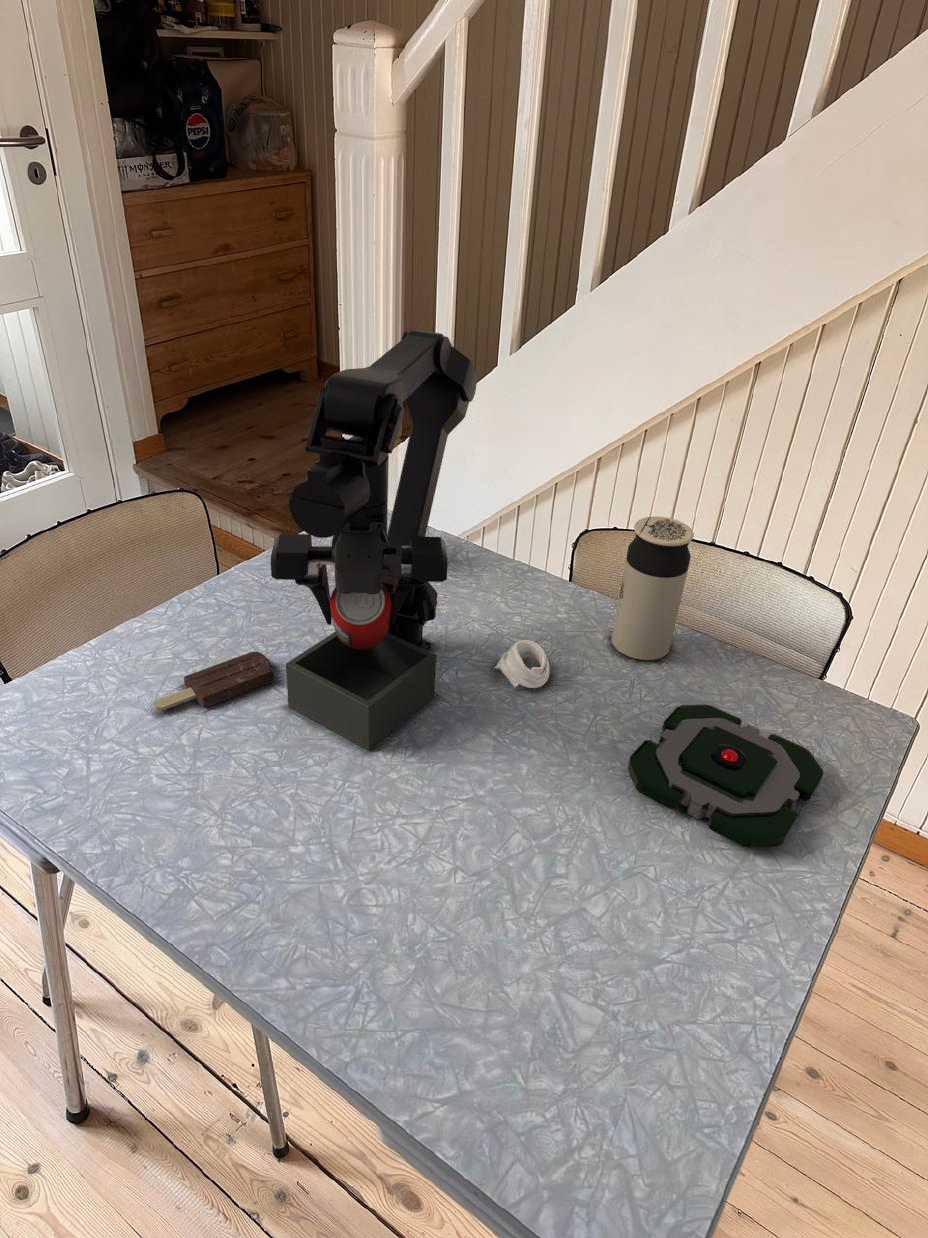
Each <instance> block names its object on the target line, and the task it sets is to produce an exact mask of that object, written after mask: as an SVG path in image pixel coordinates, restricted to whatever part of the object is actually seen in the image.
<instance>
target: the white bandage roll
mask: <svg viewBox="0 0 928 1238" xmlns="http://www.w3.org/2000/svg"><path fill="white" fill-rule="evenodd" d="M528 656H533V657H534V658H535V659H536V661H537V663H538V664H539V667H537V666H533V667H531V668H529V667H527V665H526V664H525V662H524V661H523V659H524V658H526V657H528ZM497 670H498V671H499V670H500V671H501V673H502V674H503V675H504V676H505V677H506V679H507V680H508V681H509V682H510V684H511V685H512V686H513V687H514V688H516V687H518V686H519V685H521V686H522V687H524V688H528V689H537V688H540V687H542V686H544V685H545V684H547V682H548V680H549V677H550V673H551V672H550V671H551V670H550V662H549V659H548V657H547V655H546V652H545V651H544V649H543V647H541V646H540V645H539V643H536V642H535V641H532V640H529V639H522V640H518V641H516V642H515V643H513V645H511V646H510V648H509V649H508V651H506V652H504V653H502V655H501V656H500V659H499V661H498V662H497V664H496V665H495V667H493V668H492V672H493V673H495V672H496V671H497Z"/></svg>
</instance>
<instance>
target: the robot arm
mask: <svg viewBox="0 0 928 1238" xmlns="http://www.w3.org/2000/svg"><path fill="white" fill-rule="evenodd" d="M477 381H478V378H477V374H476V370H475V368H474V366H473V364H472V361H471V360H470V358H469V357H467V356H466V355H465V354H463V353H462V352H460V351H459V350H458V349H457V348H455V347H454V346H453V345H452V343H451V340H450V338H449V337H448V336H445V335H444V334H443V333H441V332H433V331H427V330H420V329H411V330H406V331H404V332H403V334H402V337H401V339H400V340H399V342H398V343H396V344H395V345H393V346H392V347H391V348H390V349H389V350H387V351H386V352H385V353H383V355H381V356H380V357H379V358H377V359H376V360H375V361H374V362H373V363H372V364H370V365H369V366H366V367H359V368H346V369H343V370H340V371H338V372H335V373H333V374H332V375H331V376H330V377H329V378H328V379H327V380H326V382H325V384H323V386H322V387H321V388H320V391H319V394H318V398H317V402H316V406H315V409H314V413H313V418H312V420H311V425H310V428H309V433H308V436H307V439H306V444H305V452H306V453H311V454H315V455H319V461H318V462H315V463H312V464H311V465H310V466H309V467H308V468H307V471H306V473H307V474H306V475H307V477H305V479H303V480H302V481H301V482H300V483H298V484H297V485H296V486H295V487H294V488H293V490H292V491H291V494H290V498H289V499H288V508H289V512H290V515H291V517H292V519H293V521H294V523H295V524H296V525H297V526H298V527H299V528H300V530H301V531H303V532H305V533H279V534H278V535H277V536H276V537H275V538H274V541H273V544H272V549H271V553H270V576H271V578H273V579H275V580H283V581H285V580H287V581H294V582H295V584H296V585H297V586H305V587H306V588H308V589H309V590H310V592H311V593H312V595H313V596H314V598H315V600H316V601H317V603H318V606H319V608H320V610H321V613H322V615H323V617H324V619H325V622H326V624H327V625H328V626H329V625H330V626H331V625H332V623H333V621H332V616H331V611H330V598H331V591H330V584H329V576H328V569H327V566H330V565H331V566H334V583H335V587H336V590H337V591H338V592H339V593H342V594H350V593H368V594H377V593H379V592H381V590H382V588H383V585H384V586H385V587H386V589H387V590H388V593H389V595H390V599H391V613H390V623H389V629H388V633H390V634H392V635H394V636H396V637H399V638H401V639H403V640H405V641H407V642H409V643H411V644H414V645H416V646H418V647H420V648H422V649H424V650H427V651H429V650H430V649H432V642H430V641H428V640H425V639H423V636H424V635H423V629H424V626H425V625H426V623H427V622H429V621H433V620H435V619H436V617H437V605H438V595H439V592H438V591H437V590H436V589H435V588H434V587H433V586H432V584H431V583H443V582H446V581H447V580H448V568H449V567H448V566H449V565H448V563H449V562H448V559H449V558H448V552H447V545H446V542H445V540H444V539H443V538H442V537H441V536H426V534H427V530H428V526H429V521H430V517H431V512H432V507H433V503H434V499H435V495H436V490H437V485H438V480H439V477H440V474H441V473H440V472H441V467H442V463H443V459H444V455H445V451H446V450H445V449H446V446H447V441H448V437H449V435H450V434H451V433H452V431H454V429H455V428H457V427H458V425H460V424H461V422H462V421H464V419H465V417H466V416H467V415H466V414H467V411H468V408H469V404H470V403H471V402H473V400H474V398H475V395H476V390H477V383H478V382H477ZM404 402H405V406H406V408H407V412H408V414H409V417H410V420H411V428H410V432H409V436H408V441H407V445H406V450H405V454H404V459H403V463H402V468H401V472H400V476H399V481H398V486H397V489H396V495H395V499H394V503H393V507H392V513H391V517H390V521H389V524H388V513H389V510H388V509H389V462H390V461H389V460H390V459H389V454H392V453H393V451H394V447H395V444H396V441H397V439H398V435H399V432H400V429H401V426H402V423H403V420H404V416H405V409H404V405H403V403H404ZM327 432H329V433H335V434H340V435H345V436H346V435H347V436H350V438H342V437H338V436H331V435H326V433H327ZM388 525H389V526H388ZM312 537H313V538H318V539H327V538H331V537H332V539H331V546H328V545H327V546H323V545H321V546H320V545H317V546H316V545H313V539H312Z"/></svg>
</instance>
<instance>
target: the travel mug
mask: <svg viewBox="0 0 928 1238" xmlns="http://www.w3.org/2000/svg"><path fill="white" fill-rule="evenodd" d="M633 529H634V533H635V537H634V538H633V539H632V541H631V542H630V543H629V544H628V548H627V552H626V558H625V562H624V563H625V564H624V567H623V573H622V574H623V575H622V580H621V584H620V591H619V595H618V601H617V607H616V612H615V618H614V623H613V628H612V634H611V643H612V645H613V647H614V648H615V649H616V650H617V651H618V652H620V653H621V654H623V655H625V656H627V657H630V658H632V659H636V660H640V661H641V660H642V661H653V660H659V659H661V658H663V657H665V656H666V655H668V653H669V652H670V649H671V644H672V639H673V636H674V631H675V627H676V622H677V618H678V614H679V609H680V605H681V601H682V597H683V592H684V588H685V583H686V580H687V575H688V570H689V567H690V562H691V557H692V556H691V553H690V549H689V544H690V542H692V541H693V539H694V537H695V536H694V535H695V534H694V531H693V530H692V528H691V527H690V526H689V525H687V524H686V523H684V522H683V521H680V520H678V519H675V518H673V517H672V518H671V517H665V516H658V515H657V516H656V515H655V516H653V515H652V516H646V517H642V518H640V519H638V520H637V521H636V522H635V523H634V526H633Z"/></svg>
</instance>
